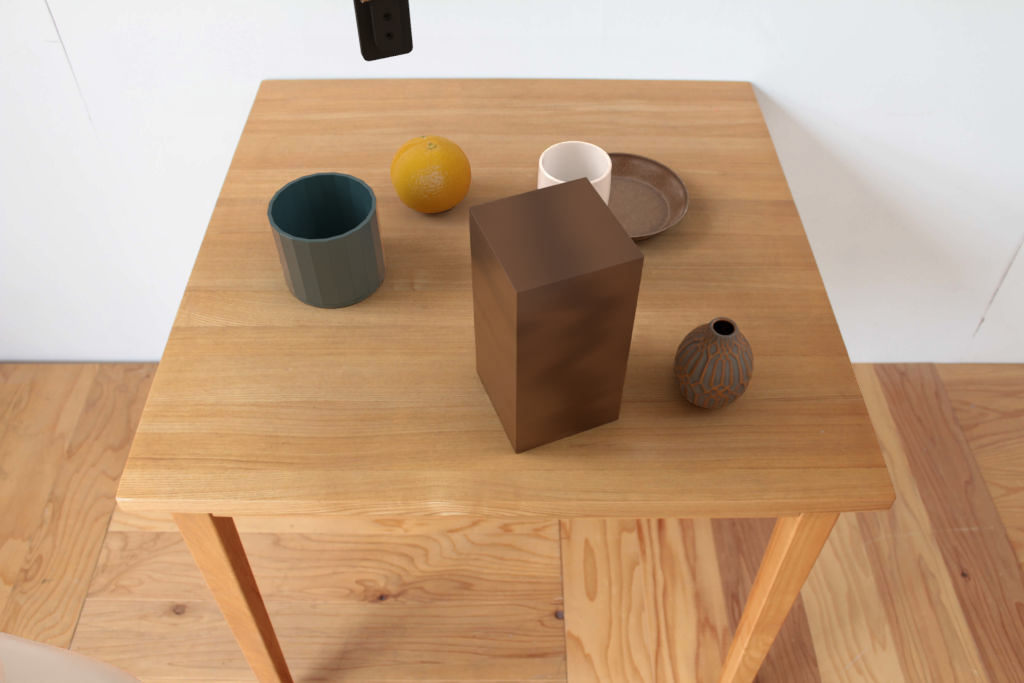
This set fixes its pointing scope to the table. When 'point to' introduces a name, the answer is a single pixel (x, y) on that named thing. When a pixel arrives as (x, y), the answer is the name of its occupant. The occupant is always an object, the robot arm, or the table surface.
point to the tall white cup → (576, 166)
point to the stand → (552, 310)
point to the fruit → (430, 174)
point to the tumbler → (328, 239)
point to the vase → (713, 364)
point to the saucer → (645, 195)
